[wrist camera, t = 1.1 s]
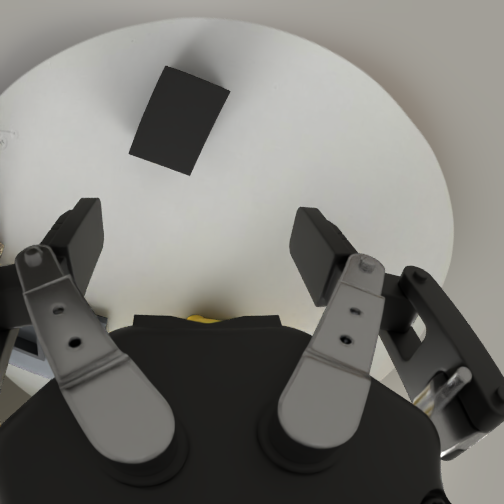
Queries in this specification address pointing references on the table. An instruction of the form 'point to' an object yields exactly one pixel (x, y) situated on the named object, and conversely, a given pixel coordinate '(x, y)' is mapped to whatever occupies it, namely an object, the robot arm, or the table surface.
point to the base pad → (34, 352)
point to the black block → (178, 120)
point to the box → (1, 248)
